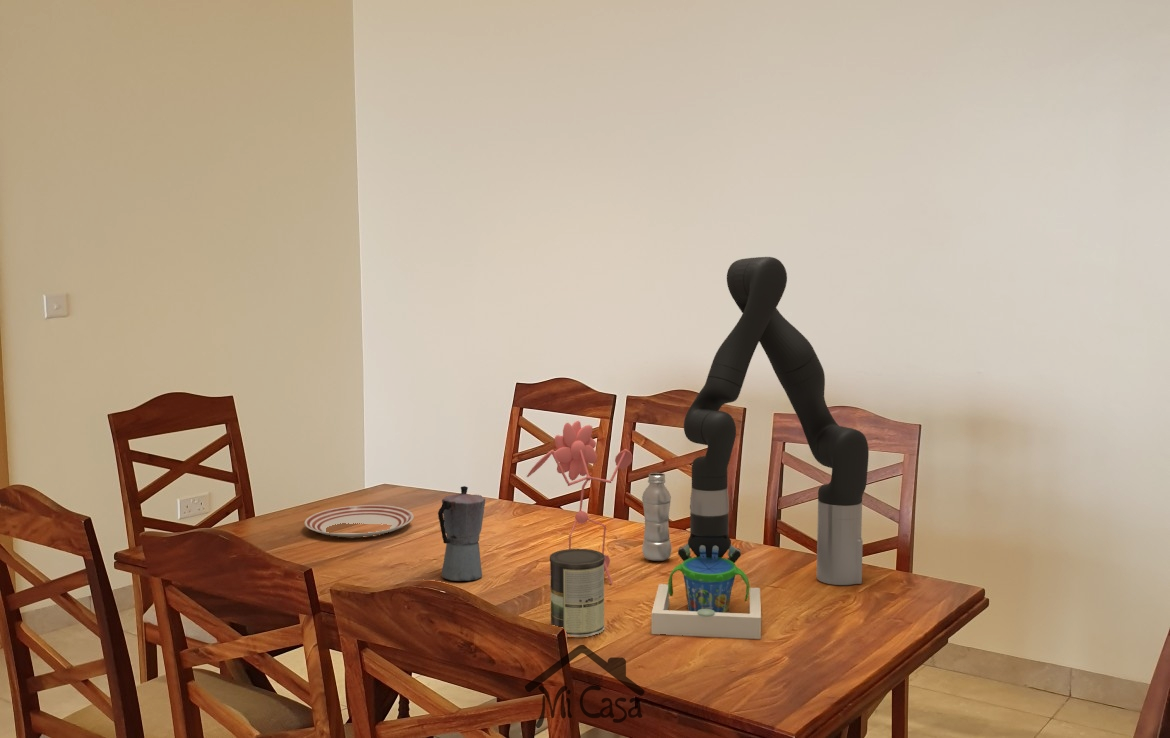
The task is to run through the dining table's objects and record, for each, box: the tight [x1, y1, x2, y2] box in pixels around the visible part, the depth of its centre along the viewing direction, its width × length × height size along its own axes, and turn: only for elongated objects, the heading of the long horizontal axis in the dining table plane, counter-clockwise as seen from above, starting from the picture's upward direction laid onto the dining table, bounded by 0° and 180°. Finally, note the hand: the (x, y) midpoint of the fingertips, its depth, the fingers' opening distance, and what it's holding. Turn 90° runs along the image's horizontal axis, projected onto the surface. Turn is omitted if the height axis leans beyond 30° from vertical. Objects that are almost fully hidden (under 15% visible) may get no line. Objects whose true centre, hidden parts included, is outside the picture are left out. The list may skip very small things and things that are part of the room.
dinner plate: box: [304, 504, 415, 538], centre depth 281 cm, size 28×27×3 cm
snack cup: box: [667, 556, 750, 613], centre depth 212 cm, size 16×10×10 cm
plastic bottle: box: [641, 472, 672, 562], centre depth 250 cm, size 6×7×20 cm
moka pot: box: [437, 485, 486, 582], centre depth 238 cm, size 10×15×20 cm, turn 155°
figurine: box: [526, 420, 635, 586], centre depth 233 cm, size 15×26×35 cm, turn 131°
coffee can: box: [549, 548, 606, 639], centre depth 205 cm, size 10×10×14 cm
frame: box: [650, 583, 762, 640], centre depth 210 cm, size 20×19×4 cm
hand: (709, 594), depth 218 cm, fingers closed
